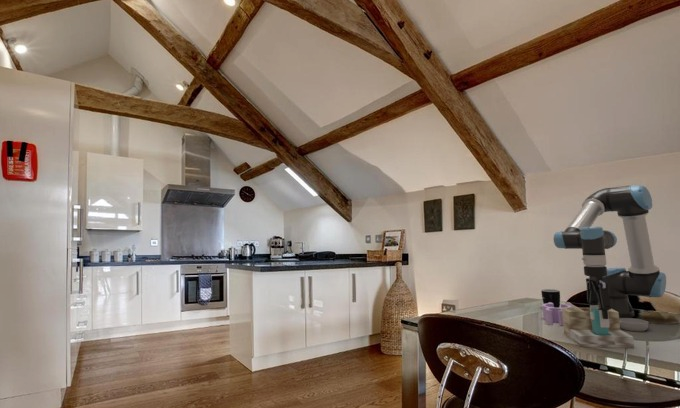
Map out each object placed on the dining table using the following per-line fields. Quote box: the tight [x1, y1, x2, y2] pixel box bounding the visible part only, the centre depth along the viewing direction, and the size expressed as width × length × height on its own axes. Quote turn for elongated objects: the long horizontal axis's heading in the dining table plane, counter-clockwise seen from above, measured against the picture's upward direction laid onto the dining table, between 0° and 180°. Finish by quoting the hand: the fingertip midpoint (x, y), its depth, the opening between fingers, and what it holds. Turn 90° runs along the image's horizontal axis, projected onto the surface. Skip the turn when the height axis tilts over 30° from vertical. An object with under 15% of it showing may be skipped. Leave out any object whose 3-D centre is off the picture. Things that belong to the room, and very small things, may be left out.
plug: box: [590, 309, 609, 335], centre depth 147 cm, size 5×4×12 cm
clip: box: [541, 302, 572, 327], centre depth 183 cm, size 20×12×7 cm, turn 147°
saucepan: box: [619, 317, 649, 332], centre depth 164 cm, size 11×18×4 cm, turn 92°
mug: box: [541, 288, 561, 308], centre depth 206 cm, size 12×9×10 cm
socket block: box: [562, 307, 635, 349], centre depth 151 cm, size 18×18×11 cm
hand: (600, 324), depth 146 cm, fingers open, 8 cm apart
